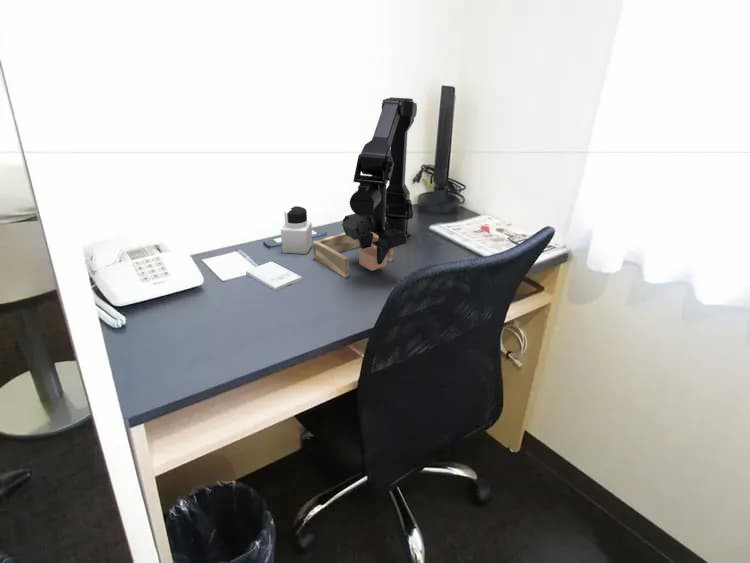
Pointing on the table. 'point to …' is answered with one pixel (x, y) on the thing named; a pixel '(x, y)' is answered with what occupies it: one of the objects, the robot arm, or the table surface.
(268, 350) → the table surface
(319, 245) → the open wooden frame
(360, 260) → the terracotta block
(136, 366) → the table surface
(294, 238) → the medicine bottle
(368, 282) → the table surface
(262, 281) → the external hard drive
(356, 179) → the robot arm
